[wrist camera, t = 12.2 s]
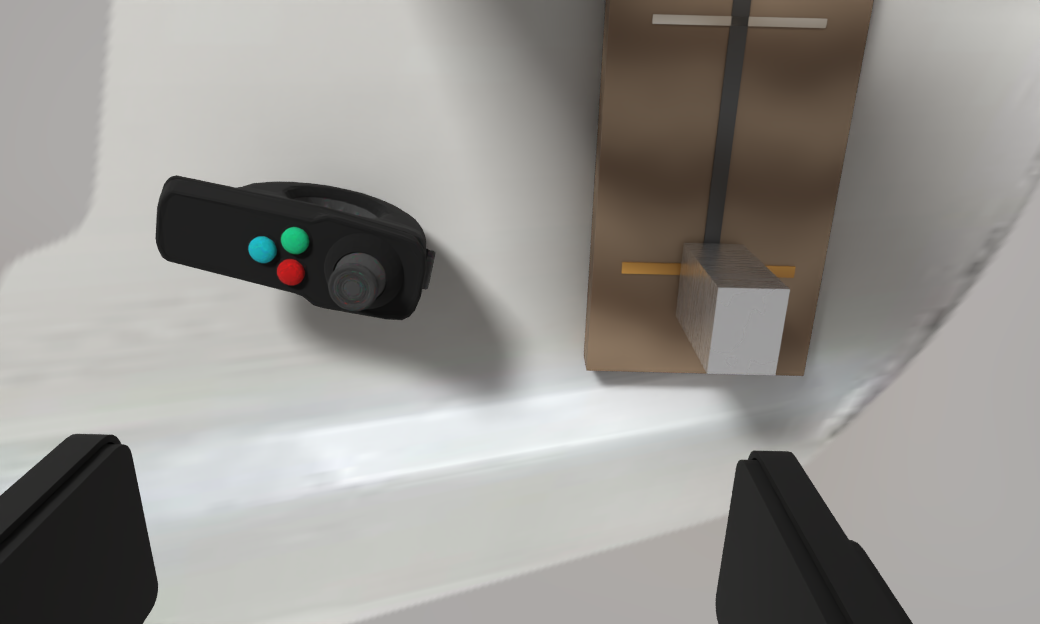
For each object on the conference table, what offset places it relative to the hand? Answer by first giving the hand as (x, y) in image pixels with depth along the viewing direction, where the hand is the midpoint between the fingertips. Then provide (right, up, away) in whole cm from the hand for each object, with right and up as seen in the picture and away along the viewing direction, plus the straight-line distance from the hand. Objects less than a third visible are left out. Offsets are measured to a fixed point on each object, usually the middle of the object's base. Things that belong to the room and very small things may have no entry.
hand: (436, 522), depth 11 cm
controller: (-9, +9, +27) cm, 30 cm away
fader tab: (+11, +5, +26) cm, 29 cm away
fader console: (+11, +11, +26) cm, 30 cm away
